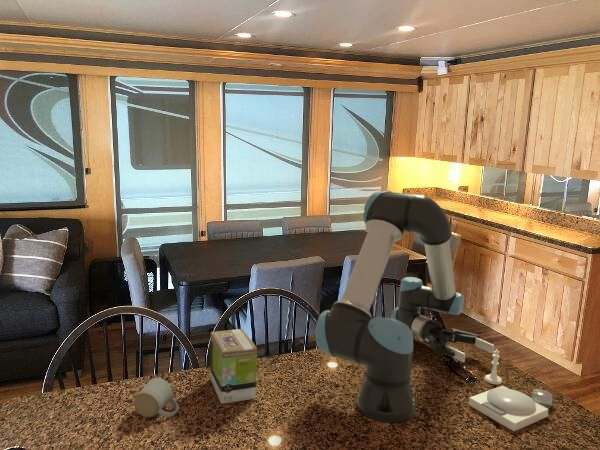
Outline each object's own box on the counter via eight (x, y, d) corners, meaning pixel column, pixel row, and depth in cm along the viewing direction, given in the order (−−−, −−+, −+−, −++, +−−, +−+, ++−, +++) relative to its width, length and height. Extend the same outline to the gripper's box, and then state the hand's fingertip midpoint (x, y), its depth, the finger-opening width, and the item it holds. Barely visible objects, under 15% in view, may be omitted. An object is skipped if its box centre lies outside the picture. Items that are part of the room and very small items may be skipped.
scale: (513, 431, 124) (515, 420, 124) (468, 404, 136) (469, 394, 136) (547, 416, 132) (548, 406, 131) (501, 392, 143) (502, 382, 143)
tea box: (257, 399, 135) (258, 347, 133) (220, 405, 132) (220, 352, 129) (242, 373, 149) (243, 327, 146) (209, 378, 145) (209, 330, 143)
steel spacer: (544, 410, 135) (545, 399, 135) (527, 401, 139) (528, 391, 139) (554, 405, 138) (556, 395, 137) (538, 397, 142) (539, 387, 141)
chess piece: (504, 384, 148) (508, 353, 146) (487, 384, 148) (491, 352, 146) (498, 376, 153) (501, 346, 151) (482, 376, 153) (485, 345, 151)
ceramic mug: (132, 417, 125) (131, 390, 123) (147, 401, 132) (147, 375, 131) (170, 423, 123) (170, 396, 121) (183, 406, 130) (183, 380, 129)
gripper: (451, 333, 180) (503, 356, 162) (400, 347, 167) (450, 373, 149) (453, 313, 178) (505, 334, 161) (402, 325, 165) (452, 350, 148)
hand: (479, 353), depth 155 cm, fingers open, 13 cm apart
